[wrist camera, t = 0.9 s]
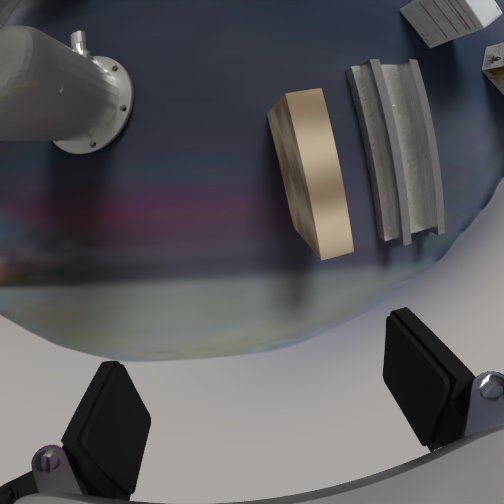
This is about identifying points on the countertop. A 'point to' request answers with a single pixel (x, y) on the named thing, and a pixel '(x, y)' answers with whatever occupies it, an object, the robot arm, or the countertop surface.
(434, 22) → the supplement box
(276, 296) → the countertop surface
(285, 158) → the door panel
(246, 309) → the countertop surface
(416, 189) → the door track
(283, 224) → the countertop surface
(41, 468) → the robot arm
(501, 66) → the coffee box
